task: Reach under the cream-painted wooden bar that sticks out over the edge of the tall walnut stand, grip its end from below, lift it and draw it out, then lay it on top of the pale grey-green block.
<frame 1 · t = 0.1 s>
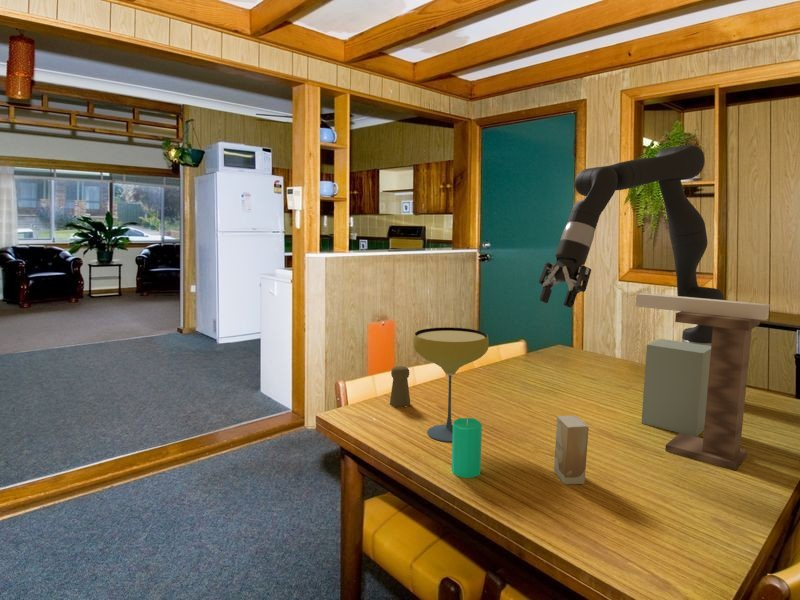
hand: (554, 304, 135), 31 cm above the table, tool tilted 20°, fingers open, 8 cm apart
skincare box: (569, 478, 110), on the table
pepper mill: (400, 404, 155), on the table
cream bar: (697, 312, 120), point 32 cm above the table, touching walnut stand
candle: (466, 472, 113), on the table
pale grey-green block: (674, 424, 139), on the table
cocktail glass: (449, 434, 133), on the table
walnut stand: (705, 453, 122), on the table
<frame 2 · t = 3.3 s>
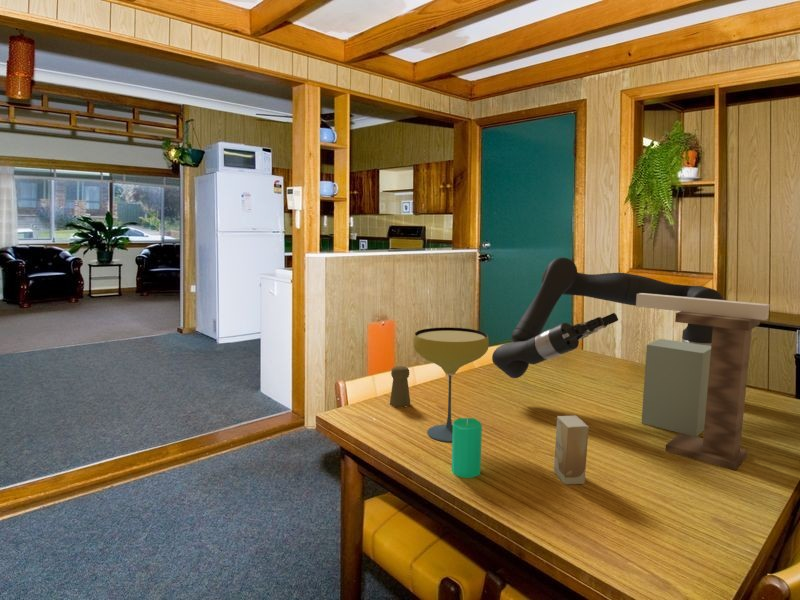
hand: (609, 318, 134), 28 cm above the table, tool pointing upward, fingers open, 8 cm apart
nothing on the table moved.
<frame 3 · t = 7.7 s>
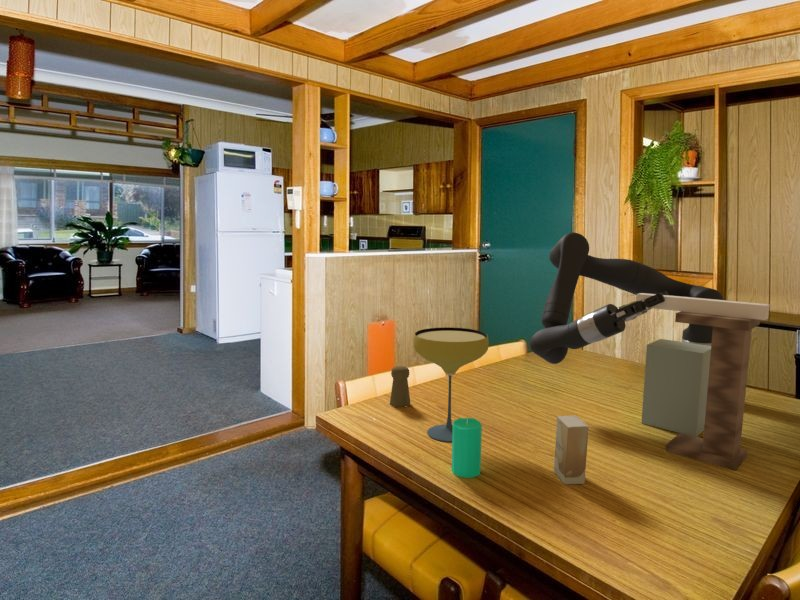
hand: (665, 296, 125), 35 cm above the table, tool pointing upward, fingers closed on cream bar, 3 cm apart
cream bar: (697, 312, 120), point 32 cm above the table, touching gripper, walnut stand
everything else where it was.
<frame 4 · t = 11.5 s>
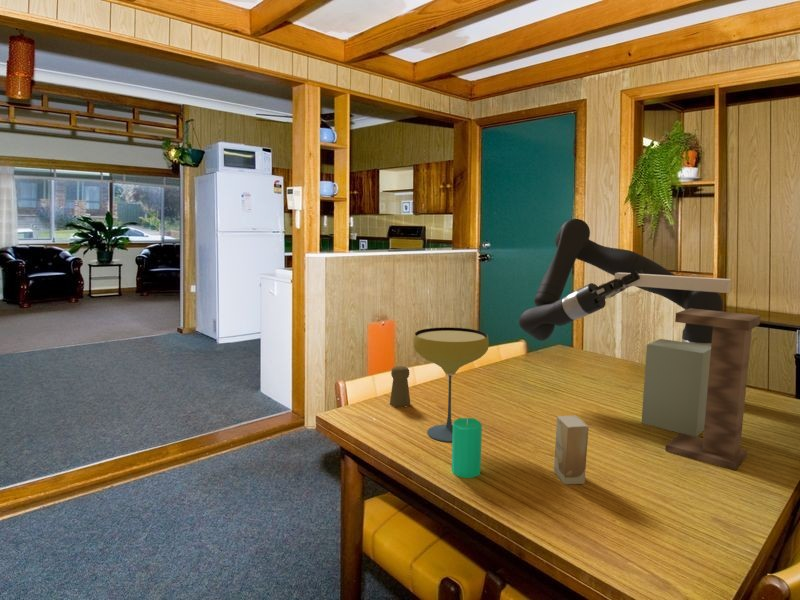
hand: (640, 274, 138), 39 cm above the table, tool pointing upward, fingers closed on cream bar, 3 cm apart
cream bar: (668, 288, 133), point 36 cm above the table, touching gripper
everything else where it was.
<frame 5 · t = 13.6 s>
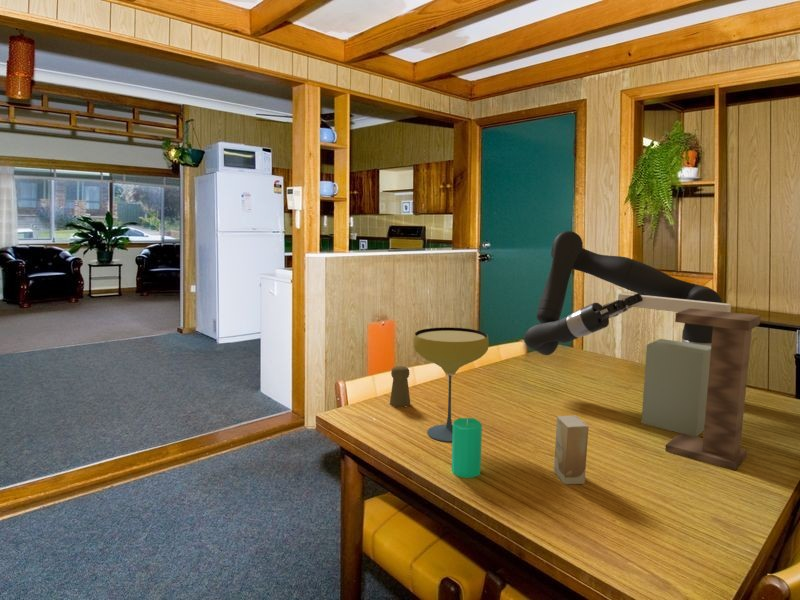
hand: (643, 296, 142), 33 cm above the table, tool pointing upward, fingers closed on cream bar, 3 cm apart
cream bar: (670, 310, 137), point 30 cm above the table, touching gripper
everything else where it was.
when the fingers open (25 cm above the table, at t = 15.5 s): cream bar drops 1 cm, resting on pale grey-green block.
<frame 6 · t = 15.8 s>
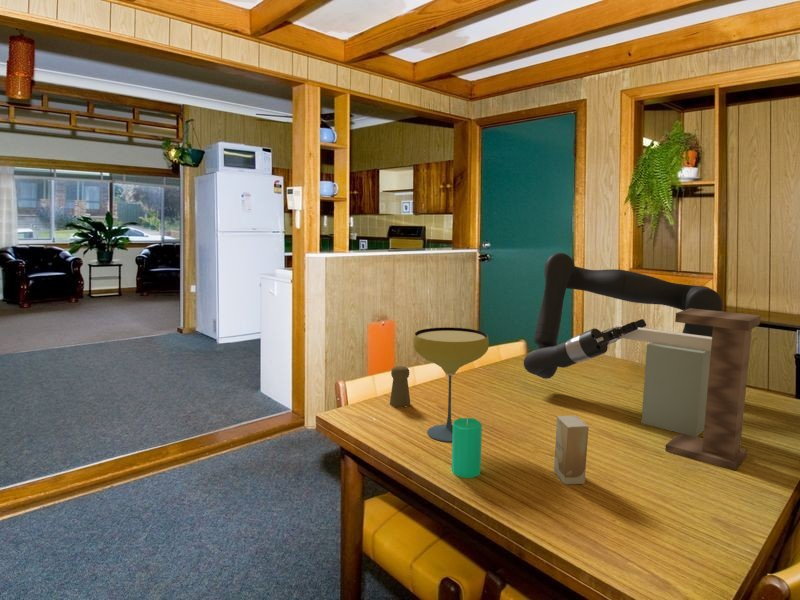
hand: (640, 323, 143), 25 cm above the table, tool pointing upward, fingers open, 5 cm apart
cream bar: (667, 343, 139), point 21 cm above the table, touching pale grey-green block
everything else where it was.
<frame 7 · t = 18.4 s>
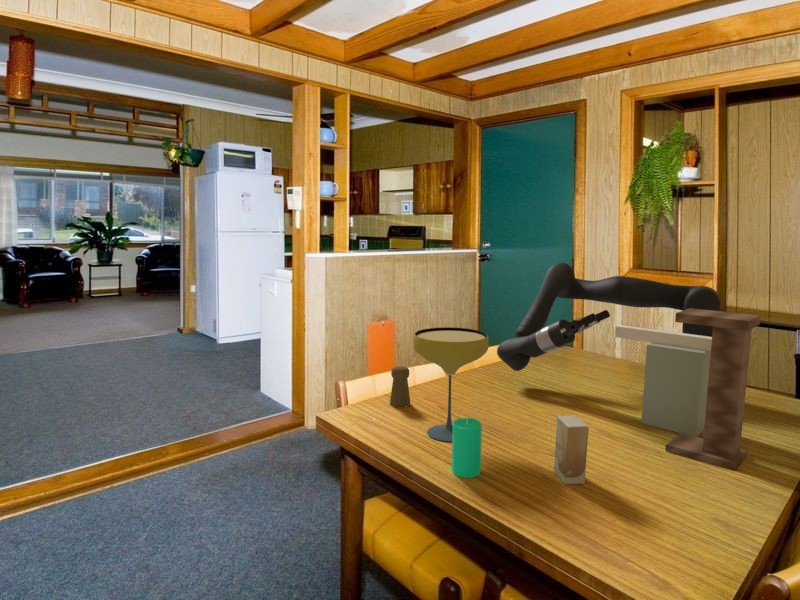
hand: (602, 314, 150), 26 cm above the table, tool pointing upward, fingers open, 8 cm apart
nothing on the table moved.
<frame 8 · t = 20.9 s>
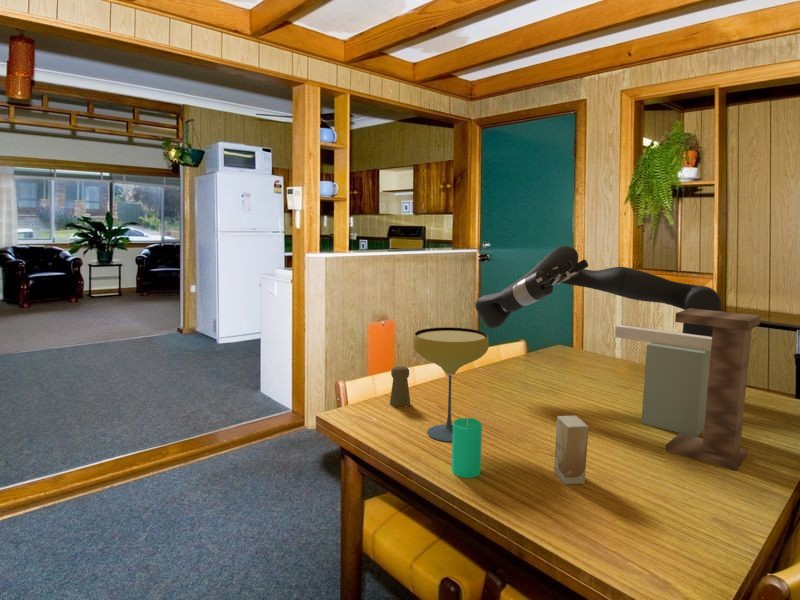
hand: (579, 263, 145), 41 cm above the table, tool pointing upward, fingers open, 8 cm apart
nothing on the table moved.
at the end: cream bar inside the target area on the pale grey-green block (0.7 cm from its centre), point 21.0 cm above the pale grey-green block's base; cream bar touching pale grey-green block; the gripper is holding nothing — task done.
